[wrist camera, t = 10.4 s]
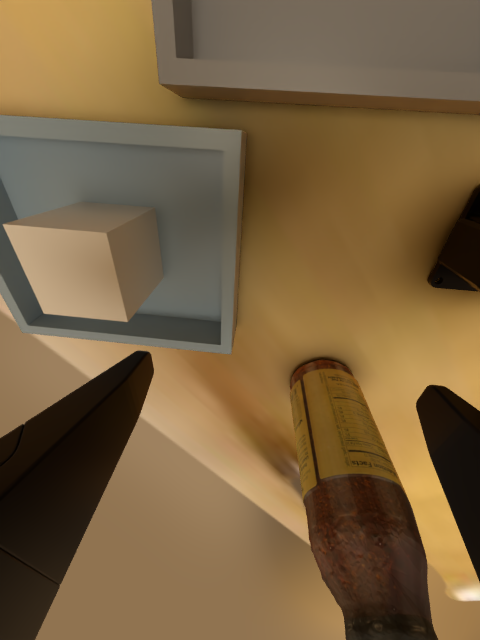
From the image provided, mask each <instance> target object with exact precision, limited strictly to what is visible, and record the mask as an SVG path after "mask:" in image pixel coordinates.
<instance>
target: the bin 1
mask: <svg viewBox="0 0 480 640" xmlns="http://www.w3.org/2000/svg"><path fill="white" fill-rule="evenodd" d="M246 144H247V133H245V132H244V131H242V130H233V129H217V128H201V127H185V126H169V125H153V124H137V123H121V122H105V121H89V120H73V119H57V118H41V117H25V116H9V115H0V293H1V295H2V297H3V299H4V301H5V302H6V304H7V306H8V308H9V310H10V311H11V313H12V315H13V317H14V319H15V321H16V322H17V324H18V326H19V328H20V330H21V331H22V333H30V334H40V335H49V336H59V337H69V338H78V339H88V340H97V341H107V342H117V343H126V344H136V345H145V346H155V347H165V348H174V349H184V350H193V351H203V352H213V353H222V354H231V353H232V347H233V342H234V336H235V331H236V322H237V304H238V287H239V269H240V251H241V233H242V215H243V198H244V180H245V162H246ZM78 202H92V203H104V204H117V205H130V206H142V207H155V212H156V220H157V228H158V236H159V244H160V252H161V259H162V267H163V275H164V278H163V279H162V280H161V282H160V283H159V284H158V285H157V287H156V288H155V289H154V290H153V292H152V293H151V294H150V295H149V297H148V298H147V299H146V300H145V302H144V303H143V304H142V305H141V306H140V308H139V309H138V310H137V311H136V313H135V314H134V315H133V316H132V318H131V319H130V320H129V321H128V322H122V321H112V320H102V319H92V318H83V317H73V316H63V315H53V314H44V313H43V311H42V308H41V306H40V304H39V302H38V300H37V298H36V295H35V293H34V291H33V289H32V287H31V285H30V282H29V280H28V278H27V276H26V274H25V272H24V270H23V267H22V265H21V263H20V261H19V259H18V257H17V254H16V252H15V250H14V248H13V246H12V244H11V241H10V239H9V237H8V235H7V233H6V231H5V229H4V226H3V224H5V223H8V222H12V221H15V220H19V219H22V218H26V217H29V216H33V215H36V214H40V213H43V212H47V211H50V210H54V209H57V208H61V207H64V206H68V205H71V204H75V203H78Z"/></svg>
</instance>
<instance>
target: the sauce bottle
mask: <svg viewBox="0 0 480 640" xmlns="http://www.w3.org/2000/svg"><path fill="white" fill-rule="evenodd" d="M290 389H291V392H290V399H291V406H292V416H293V423H294V431H295V438H296V447H297V455H298V462H299V471H300V479H301V487H302V495H303V502H304V505H305V507H306V515H307V520H308V529H309V540H310V544H311V549H312V552H313V554H314V557H315V560H316V562H317V564H318V567H319V569H320V571H321V575H322V579H323V580H324V582H325V583H326V585H327V587H328V588H329V589H330V591H331V593H332V595H333V596H334V598H335V600H336V602H337V603H338V605H339V606H340V607H341V609H342V612H343V616H344V622H345V634H346V640H438V638H437V636H436V634H435V631H434V628H433V624H432V619H431V611H430V603H429V595H428V584H427V559H426V554H425V550H424V547H423V544H422V540H421V537H420V534H419V530H418V527H417V523H416V520H415V517H414V513H413V510H412V507H411V505H410V502H409V500H408V497H407V495H406V493H405V490H404V488H403V486H402V483H401V481H400V479H399V477H398V474H397V472H396V470H395V468H394V465H393V463H392V461H391V458H390V456H389V454H388V451H387V449H386V447H385V444H384V442H383V439H382V437H381V435H380V432H379V430H378V428H377V425H376V423H375V421H374V419H373V417H372V414H371V412H370V409H369V407H368V405H367V402H366V400H365V398H364V395H363V393H362V391H361V388H360V386H359V384H358V382H357V381H356V379H355V378H354V377H353V375H352V373H351V372H350V370H349V369H348V368H347V367H345V366H344V365H342V364H340V363H338V362H333V361H331V360H322V359H320V360H318V361H313V362H310V363H308V364H305V365H303V366H301V367H300V368H298V369H297V370H296V371H295V373H294V374H293V376H292V379H291V384H290Z"/></svg>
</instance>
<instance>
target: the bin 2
mask: <svg viewBox="0 0 480 640" xmlns="http://www.w3.org/2000/svg"><path fill="white" fill-rule="evenodd" d="M151 1H152V11H153V22H154V32H155V43H156V53H157V64H158V75H159V84H161V85H162V86H164V87H166V88H167V89H169V90H171V91H173V92H174V93H176V94H178V95H179V96H181V97H183V98H198V99H215V100H233V101H250V102H268V103H285V104H303V105H320V106H338V107H355V108H373V109H390V110H408V111H425V112H443V113H460V114H478V115H480V0H151Z"/></svg>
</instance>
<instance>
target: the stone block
mask: <svg viewBox="0 0 480 640" xmlns="http://www.w3.org/2000/svg"><path fill="white" fill-rule="evenodd" d="M3 226H4V229H5V231H6V233H7V235H8V237H9V239H10V241H11V244H12V246H13V248H14V250H15V252H16V254H17V257H18V259H19V261H20V263H21V265H22V267H23V270H24V272H25V274H26V276H27V278H28V280H29V282H30V285H31V287H32V289H33V291H34V293H35V295H36V298H37V300H38V302H39V304H40V306H41V308H42V311H43V313H44V314H53V315H63V316H73V317H83V318H92V319H102V320H112V321H122V322H128V321H129V320H130V319H131V318H132V316H133V315H134V314H135V313H136V311H137V310H138V309H139V308H140V306H141V305H142V304H143V303H144V302H145V300H146V299H147V298H148V297H149V295H150V294H151V293H152V292H153V290H154V289H155V288H156V287H157V285H158V284H159V283H160V282H161V280H162V279H163V278H164V275H163V267H162V259H161V252H160V244H159V236H158V228H157V220H156V212H155V207H142V206H130V205H117V204H104V203H92V202H78V203H75V204H71V205H68V206H64V207H61V208H57V209H54V210H50V211H47V212H43V213H40V214H36V215H33V216H29V217H26V218H22V219H19V220H15V221H12V222H8V223H5V224H3Z"/></svg>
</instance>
